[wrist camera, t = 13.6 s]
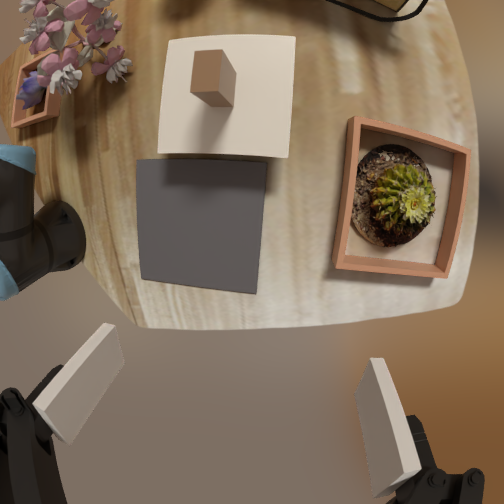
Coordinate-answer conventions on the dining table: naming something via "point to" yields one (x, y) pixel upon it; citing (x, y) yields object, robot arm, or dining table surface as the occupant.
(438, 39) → the dining table surface
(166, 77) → the board
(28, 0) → the flower
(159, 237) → the rubber mat
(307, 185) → the dining table surface
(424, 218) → the cactus
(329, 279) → the dining table surface
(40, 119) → the flower tray
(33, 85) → the flower
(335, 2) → the clutch purse
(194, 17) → the dining table surface
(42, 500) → the robot arm
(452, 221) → the cactus tray
